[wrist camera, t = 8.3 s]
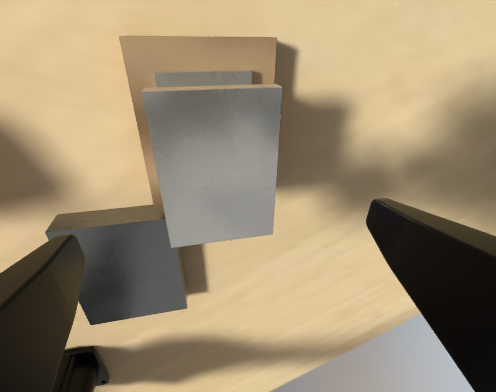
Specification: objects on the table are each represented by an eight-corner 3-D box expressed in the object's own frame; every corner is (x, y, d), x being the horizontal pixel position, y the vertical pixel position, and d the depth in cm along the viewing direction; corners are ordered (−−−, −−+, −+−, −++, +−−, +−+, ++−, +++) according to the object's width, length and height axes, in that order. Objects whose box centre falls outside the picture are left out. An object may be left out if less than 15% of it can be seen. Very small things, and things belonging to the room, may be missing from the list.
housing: (248, 180, 19) (272, 234, 14) (173, 187, 18) (171, 247, 13) (248, 69, 15) (282, 87, 10) (155, 71, 14) (141, 91, 9)
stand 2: (261, 183, 21) (268, 196, 20) (156, 193, 20) (154, 207, 18) (266, 37, 16) (276, 37, 14) (126, 36, 15) (119, 36, 13)
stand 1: (186, 290, 26) (187, 308, 24) (96, 305, 24) (90, 325, 23) (172, 203, 20) (171, 218, 19) (57, 214, 19) (45, 232, 17)
